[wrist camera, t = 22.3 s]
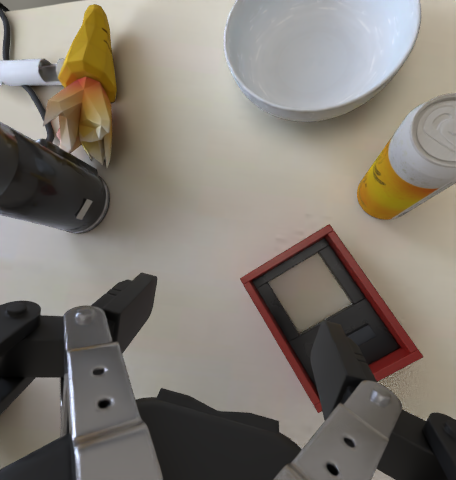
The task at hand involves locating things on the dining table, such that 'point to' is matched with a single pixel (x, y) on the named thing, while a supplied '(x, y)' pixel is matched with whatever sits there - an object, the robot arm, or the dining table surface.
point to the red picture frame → (350, 318)
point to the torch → (86, 90)
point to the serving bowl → (317, 52)
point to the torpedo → (30, 72)
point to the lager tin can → (413, 161)
